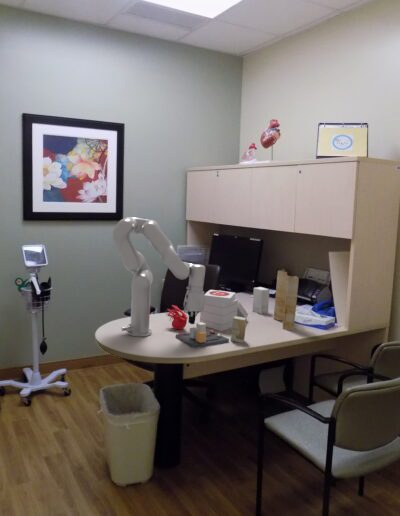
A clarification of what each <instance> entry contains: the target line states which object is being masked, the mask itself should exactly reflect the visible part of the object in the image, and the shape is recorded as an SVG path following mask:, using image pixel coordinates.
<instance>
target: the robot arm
mask: <svg viewBox="0 0 400 516" xmlns="http://www.w3.org/2000/svg"><path fill="white" fill-rule="evenodd" d="M132 234H134V235H140V236H143V237H144V238H145V239H146V241H147V242H148V243H149V244H150V245H151V247H152V248H153V249H154V250H155V251H156V252H157V254H158V255H159V257H160V258H161V260H162V261H163V263H164V264H165V266H166V267H167V268H168V270H170V272H171V273H172V274H173V276H175V278H177V279H179V280H181V281H182V280H186V279H188V278H189V279H188V286H186V293H185V297H184V301H183V312H184V313H185V314H186V315H187V316H188V319H187V322H188V324H190V325H195V324H196V323H195V321H196V317H197V315H198V314H199V313H201V312H202V310H203V309H204V294H205V291H204V284H205V275H206V266H205V265H203V264H199V263H197V264H196V263H190V262H187V261H183V260H182V259H181V258H180V256H179V255H178V253H177V252H176V249H175V248H174V245H173V243H172V241H171V240H170V239H169V238H168V237H167V236H166V234H165V233H164V232H163V231H162V229H161V227H160V224H159V223H158V221H156V220H154V219H145V218H140V217H134V216H127V217H124V218H122V219H120V220H119V221H118V222H117V223H116V224H115V226H114V228H113V231H112V240H113V244H114V246H115V248H116V250H117V252H118V255H119V257H120V259H121V262H122V263H123V266H124V267H125V270H126V271H128V272H131V274H132V276H133V277H132V280H131V284H130V286H131V288H130V289H131V301H130V302H131V305H130V307H131V308H130V323H128V325H127V326H122V327H120V328H121V332H125V331H126V332H127V333H126V334H127V335H129V336H132V337H137V338H139V337H141V338H142V337H148V336H151V335H152V334H153V331H152V329H150V317H151V316H150V315H151V314H150V313H151V289H152V288H151V287H152V285H153V284H152V283H153V281H154V276H153V273H152V271H151V268H150V266H149V264H148V263H147V261H146V258H145V256H144V255H143V254H142V253H141V252H140V251H138V250H137V249H136V247H135V244H134V243H133V241H132V239H131V235H132Z"/></svg>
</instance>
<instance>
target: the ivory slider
mask: <svg viewBox="0 0 400 516" xmlns="http://www.w3.org/2000/svg"><path fill="white" fill-rule="evenodd" d="M195 327H196V328H198V329H200V330H199V331H204V332H206V330H207V329H206V328H207V327H206V324H205V323H203V322H200V321H199V322H196V326H195Z"/></svg>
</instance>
